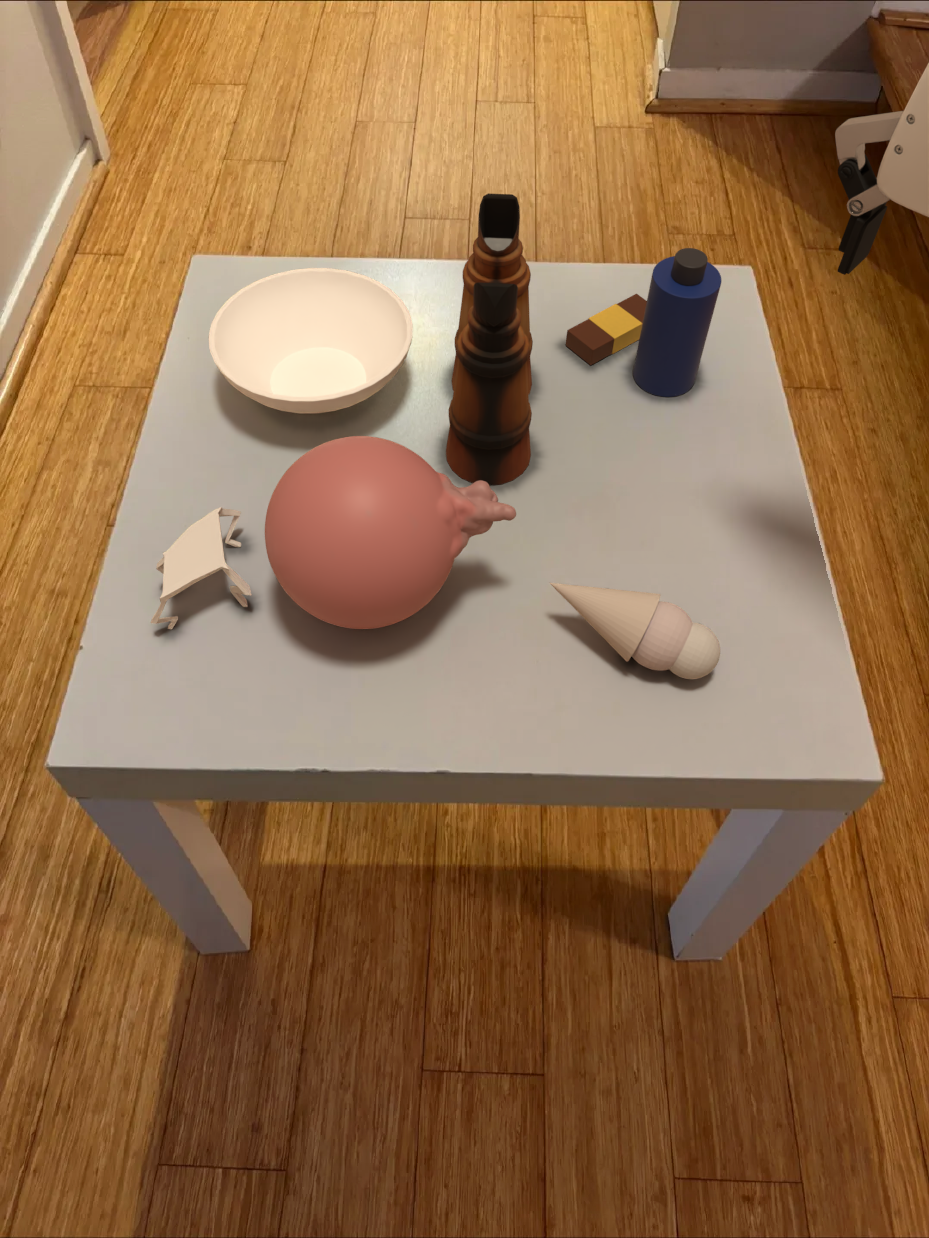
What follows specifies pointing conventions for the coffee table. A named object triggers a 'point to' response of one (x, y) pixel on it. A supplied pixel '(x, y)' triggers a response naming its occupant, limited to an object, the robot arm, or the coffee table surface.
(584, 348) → the chocolate bar
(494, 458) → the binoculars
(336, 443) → the balloon
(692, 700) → the coffee table surface
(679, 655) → the ice cream cone
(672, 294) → the water bottle
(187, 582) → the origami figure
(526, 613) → the coffee table surface
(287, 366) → the bowl
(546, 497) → the coffee table surface
